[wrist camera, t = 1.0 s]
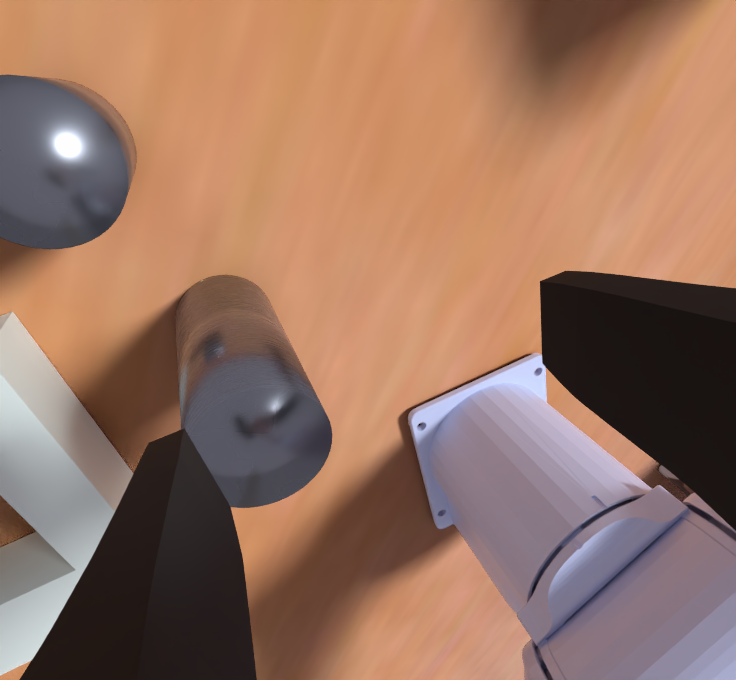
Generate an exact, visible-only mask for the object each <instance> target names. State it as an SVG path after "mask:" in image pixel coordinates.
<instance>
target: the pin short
mask: <svg viewBox="0 0 736 680" xmlns="http://www.w3.org/2000/svg"><path fill="white" fill-rule="evenodd" d="M135 169H136V147H135V143H134V139H133V136H132V134H131V131H130V129H129V127H128V125H127V124H126V122H125V120H124V119H123V118H122V116H121V115H120V113H119V112H118V111H117V110H116V109H115V108H114V107H113V106H112V105H111V104H110V103H109V102H108V101H107V100H106V99H104V98H103V97H102V96H100V95H99V94H97V93H96V92H94V91H92V90H91V89H89V88H87V87H85V86H82V85H80V84H77V83H74V82H71V81H66V80H62V79H51V78H40V77H28V76H17V75H0V238H3V239H5V240H8V241H10V242H13V243H17V244H20V245H23V246H28V247H34V248H42V249H62V248H69V247H74V246H78V245H81V244H84V243H86V242H89V241H91V240H93V239H95V238H97V237H98V236H100V235H101V234H103V233H104V232H105V231H106V230H108V229H109V228H110V227H111V225H112V224H113V223H114V222H115V221H116V219H117V218H118V216H119V215H120V213H121V211H122V209H123V207H124V204H125V201H126V198H127V195H128V192H129V188H130V185H131V182H132V179H133V176H134V173H135Z"/></svg>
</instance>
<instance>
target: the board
mask: <svg viewBox="0 0 736 680" xmlns="http://www.w3.org/2000/svg"><path fill="white" fill-rule="evenodd" d="M132 476H133V472H132V471H131V470H130V468H129V467H128V466H127V464H126V463H125V462H124V460H123V459H122V457H121V456H120V455H119V453H118V452H117V451H116V449H115V448H114V447H113V445H112V444H111V443H110V441H109V440H108V439H107V437H106V436H105V435H104V433H103V432H102V431H101V429H100V428H99V427H98V425H97V424H96V423H95V421H94V420H93V419H92V417H91V416H90V415H89V413H88V412H87V410H86V409H85V408H84V406H83V405H82V404H81V402H80V401H79V400H78V398H77V397H76V396H75V394H74V393H73V392H72V390H71V389H70V388H69V386H68V385H67V384H66V382H65V381H64V380H63V378H62V377H61V376H60V374H59V373H58V372H57V370H56V369H55V368H54V366H53V365H52V363H51V362H50V361H49V359H48V358H47V357H46V355H45V354H44V353H43V351H42V350H41V349H40V347H39V346H38V345H37V343H36V342H35V341H34V339H33V338H32V337H31V335H30V334H29V333H28V331H27V330H26V329H25V327H24V326H23V325H22V323H21V322H20V321H19V319H18V318H17V317H16V315H15V314H14V312H10V313H7V314H4V315H1V316H0V495H1V496H2V497H3V498H4V499H5V500H6V501H7V502H8V503H9V504H10V505H11V506H12V507H13V508H14V509H15V510H16V511H17V512H18V513H19V514H20V515H21V516H22V517H23V518H24V519H25V520H26V521H27V522H28V523H29V524H30V525H31V526H32V527H33V528H34V529H35V530H36V532H34V533H32V534H30V535H27V536H25V537H23V538H21V539H18V540H16V541H14V542H12V543H9V544H7V545H5V546H2V547H0V675H2V674H4V673H6V672H8V671H10V670H12V669H15V668H17V667H19V666H21V665H23V664H25V663H27V662H29V661H31V660H32V659H33V658H34V656H35V655H36V653H37V651H38V650H39V648H40V647H41V645H42V643H43V642H44V640H45V638H46V637H47V635H48V633H49V632H50V630H51V628H52V627H53V625H54V623H55V621H56V620H57V618H58V616H59V614H60V613H61V611H62V609H63V607H64V606H65V604H66V602H67V600H68V598H69V597H70V595H71V593H72V591H73V590H74V588H75V586H76V584H77V583H78V581H79V579H80V577H81V575H82V574H83V572H84V570H85V568H86V567H87V565H88V563H89V561H90V560H91V558H92V556H93V554H94V552H95V550H96V548H97V546H98V544H99V542H100V540H101V538H102V536H103V534H104V532H105V530H106V528H107V526H108V525H109V523H110V521H111V519H112V517H113V515H114V513H115V511H116V509H117V507H118V505H119V502H120V500H121V498H122V496H123V494H124V492H125V490H126V488H127V486H128V484H129V482H130V480H131V478H132Z"/></svg>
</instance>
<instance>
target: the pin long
mask: <svg viewBox="0 0 736 680" xmlns="http://www.w3.org/2000/svg"><path fill="white" fill-rule="evenodd" d="M175 326H176V344H177V362H178V380H179V398H180V416H181V430H182V429H184V428H185V430H186V432H187V433H188V435H189V437H190V439H191V440H192V442H193V444H194V445H195V447H196V449H197V450H198V452H199V454H200V456H201V457H202V459H203V461H204V462H205V464H206V466H207V467H208V469H209V471H210V472H211V474H212V476H213V478H214V479H215V481H216V483H217V484H218V486H219V488H220V489H221V491H222V493H223V495H224V496H225V498H226V500H227V501H228V503H229V505H230V507H238V508H250V507H258V506H263V505H268V504H271V503H274V502H277V501H280V500H282V499H284V498H286V497H288V496H290V495H292V494H294V493H295V492H297V491H299V490H300V489H301V488H303V487H304V486H305V485H307V484H308V483H309V482H310V481H311V480H312V479H313V478H314V477H315V476H316V475H317V473H318V472H319V471H320V470H321V468H322V467H323V465H324V463H325V461H326V459H327V457H328V455H329V452H330V449H331V444H332V429H331V425H330V421H329V419H328V417H327V415H326V413H325V411H324V409H323V407H322V405H321V403H320V401H319V399H318V397H317V395H316V393H315V391H314V389H313V387H312V385H311V383H310V381H309V379H308V377H307V375H306V373H305V371H304V369H303V367H302V365H301V363H300V361H299V359H298V357H297V355H296V353H295V351H294V349H293V347H292V345H291V343H290V341H289V339H288V337H287V335H286V333H285V331H284V329H283V327H282V325H281V323H280V321H279V319H278V318H277V316H276V314H275V312H274V310H273V308H272V306H271V304H270V302H269V300H268V298H267V296H266V295H265V293H264V292H263V291H262V290H261V289H260V288H259V287H258V286H257V285H256V284H254V283H252V282H251V281H249V280H247V279H244V278H241V277H238V276H233V275H218V276H213V277H209V278H206V279H204V280H201V281H200V282H198V283H196V284H195V285H193V286H192V287H191V288H189V290H188V291H187V292H186V293H185V294H184V295H183V297H182V298H181V300H180V302H179V304H178V306H177V309H176V314H175Z"/></svg>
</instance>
